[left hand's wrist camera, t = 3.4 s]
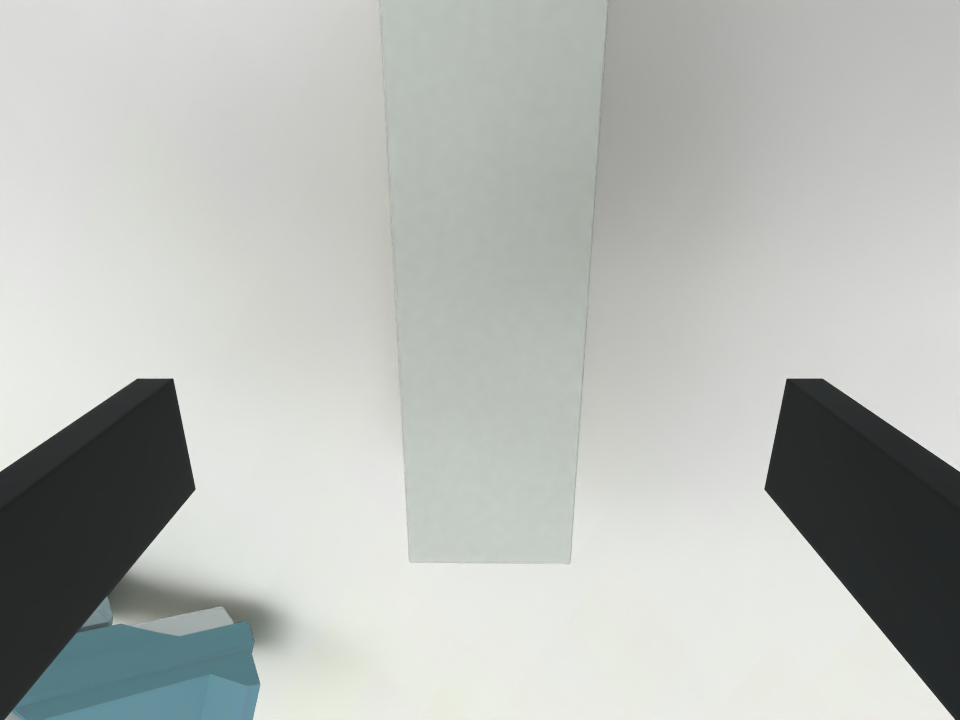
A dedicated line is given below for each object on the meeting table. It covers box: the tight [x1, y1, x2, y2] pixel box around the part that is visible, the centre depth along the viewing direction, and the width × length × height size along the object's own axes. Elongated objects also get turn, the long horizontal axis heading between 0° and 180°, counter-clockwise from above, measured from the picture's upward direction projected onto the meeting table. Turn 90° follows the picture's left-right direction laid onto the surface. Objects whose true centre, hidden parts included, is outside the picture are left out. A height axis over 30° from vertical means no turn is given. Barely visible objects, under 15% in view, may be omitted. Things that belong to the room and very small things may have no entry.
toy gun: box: [5, 596, 260, 720], centre depth 25 cm, size 4×19×10 cm
